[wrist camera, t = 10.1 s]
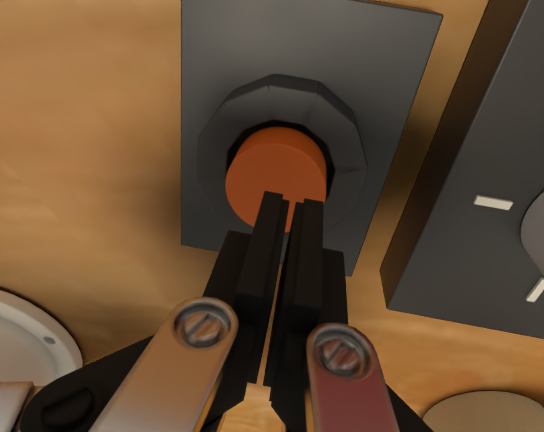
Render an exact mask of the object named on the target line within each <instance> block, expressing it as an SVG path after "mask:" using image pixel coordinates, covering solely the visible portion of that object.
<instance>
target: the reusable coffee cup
mask: <svg viewBox="0 0 544 432" xmlns="http://www.w3.org/2000/svg"><path fill="white" fill-rule="evenodd" d="M423 421H424V422H425V423H426V424H427V425H428V426H429V427H430V428H431V429H432V430H433V431H434V432H544V407H543V406H541V405H540V404H539V403H538V402H536V401H534V400H532V399H530V398H528V397H525V396H522V395H519V394H514V393H509V392H500V391H478V392H470V393H464V394H460V395H456V396H453V397H450V398H448V399H445V400H443V401H441V402H439V403H437V404H436V405H434V406H433V407H432V408H430V409H429V410H428V411H427V413H426V414H425V415H424V417H423Z"/></svg>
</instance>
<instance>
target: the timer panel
mask: <svg viewBox="0 0 544 432" xmlns="http://www.w3.org/2000/svg"><path fill="white" fill-rule="evenodd" d="M543 192H544V0H490V1H489V3H488V6H487V8H486V11H485V13H484V16H483V18H482V21H481V23H480V26H479V28H478V30H477V33H476V35H475V38H474V40H473V43H472V45H471V48H470V50H469V53H468V55H467V57H466V60H465V62H464V65H463V67H462V70H461V72H460V75H459V77H458V80H457V82H456V84H455V87H454V89H453V92H452V94H451V97H450V99H449V102H448V104H447V107H446V109H445V111H444V114H443V116H442V119H441V121H440V124H439V126H438V129H437V131H436V134H435V136H434V138H433V141H432V143H431V146H430V148H429V151H428V153H427V156H426V158H425V161H424V163H423V165H422V168H421V170H420V173H419V175H418V178H417V180H416V183H415V185H414V188H413V190H412V192H411V195H410V197H409V200H408V202H407V205H406V207H405V210H404V212H403V214H402V217H401V219H400V222H399V224H398V227H397V229H396V232H395V234H394V237H393V239H392V241H391V244H390V246H389V249H388V251H387V254H386V256H385V259H384V261H383V264H382V266H381V268H380V275H381V281H382V286H383V291H384V297H385V302H386V308H387V309H389V310H394V311H399V312H405V313H410V314H415V315H420V316H426V317H431V318H436V319H441V320H447V321H452V322H457V323H462V324H467V325H473V326H478V327H483V328H488V329H494V330H499V331H504V332H509V333H515V334H520V335H525V336H530V337H536V338H541V339H544V275H543V274H542V272H541V271H540V270H539V268H538V267H537V265H536V264H535V263H534V261H533V260H532V259H531V257H530V256H529V255H528V253H527V252H526V250H525V249H524V247H523V244H522V241H521V225H522V221H523V219H524V216H525V214H526V212H527V210H528V209H529V207H530V206H531V204H532V203H533V202H534V201H535V200H536V198H537V197H538V196H539V195H540V194H541V193H543Z"/></svg>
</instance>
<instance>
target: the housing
mask: <svg viewBox="0 0 544 432" xmlns="http://www.w3.org/2000/svg"><path fill="white" fill-rule="evenodd" d="M442 19H443V14H440V13H437V12H433V11H430V10H426V9H420V8H414V7H408V6H402V5H396V4H391V3H385V2H379V1H373V0H181V245H185V246H190V247H196V248H201V249H206V250H212V251H217V252H220V250H221V247H222V245H223V242H224V240H225V237H226V235H227V232H228V231H229V230H232V231H238V232H243V233H248V234H252V232H253V229H254V227H253V226H251V225H249V224H248V223H246V222H245V221H244V220H242V219H241V218H240V217H239V216H238V215H237V214H236V212H235V211H234V210H233V208H232V207H231V205H230V203H229V201H228V198H227V194H226V188H225V181H226V176H227V172H228V170H229V168H230V166H231V164H232V162H233V160H234V158H235V156H236V154H237V152H238V150H239V148H240V146H241V145H242V143H243V142H244V141H245V140H246V139H247V138H248V137H249V136H250V135H252V134H253V133H255V132H257V131H259V130H261V129H264V128H268V127H276V126H281V127H289V128H293V129H296V130H298V131H300V132H302V133H304V134H306V135H307V136H309V137H310V138H311V139H312V140H313V141H314V142H315V143H316V144H317V145H318V147H319V148H320V150H321V151H322V154H323V156H324V159H325V163H326V198H325V202H324V211H323V248H326V249H331V250H337V251H342V252H343V253H344V263H345V276H349V277H351V276H352V274H353V271H354V268H355V265H356V262H357V259H358V257H359V254H360V251H361V248H362V245H363V242H364V240H365V237H366V234H367V231H368V228H369V226H370V223H371V220H372V217H373V214H374V211H375V209H376V206H377V203H378V200H379V197H380V194H381V192H382V189H383V186H384V183H385V180H386V178H387V175H388V172H389V169H390V166H391V163H392V161H393V158H394V155H395V152H396V149H397V146H398V144H399V141H400V138H401V135H402V132H403V130H404V127H405V124H406V121H407V118H408V115H409V113H410V110H411V107H412V104H413V101H414V98H415V96H416V93H417V90H418V87H419V84H420V82H421V79H422V76H423V73H424V70H425V67H426V65H427V62H428V59H429V56H430V53H431V50H432V48H433V45H434V42H435V39H436V36H437V34H438V31H439V28H440V25H441V22H442ZM288 237H289V232H285V234H284V240H283V246H282V252H281V258H280V264H283V260H284V256H285V251H286V246H287V241H288Z"/></svg>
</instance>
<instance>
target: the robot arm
mask: <svg viewBox="0 0 544 432" xmlns="http://www.w3.org/2000/svg"><path fill="white" fill-rule="evenodd" d="M289 204H290V200H285V199H283V194H280V193H275V192H270V191H264V195H263V198H262V201H261V205H260V208H259V212H258V215H257V218H256V222H255V225H254V229H253V232H252V234H248V233H243V232H238V231H232V230H229V231H228V232H227V235H226V237H225V240H224V242H223V245H222V247H221V250H220V253H219V255H218V258H217V260H216V263H215V265H214V268H213V270H212V273H211V276H210V278H209V281H208V283H207V286H206V288H205V291H204V293H203V296H202V297H195V298H191V299H188V300H185V301H183V302H182V303H180V304H178V305H177V306H176V307H175V308H174V309H173V310H172V311H171V312H170V314H169V315H168V316H167V318H166V319H165V321H164V322H163V324H162V325H161V327H160V328H159V330H158V331H157V332H156V334H155V335H152V336H150V337H148V338H146V339H144V340H141V341H139V342H137V343H135V344H132V345H130V346H128V347H126V348H124V349H121V350H119V351H117V352H115V353H113V354H110V355H108V356H106V357H104V358H101V359H99V360H97V361H95V362H93V363H90V364H88V365H86V366H84V367H82V365H83V360H82V356H81V352H80V350H79V348H78V346H77V344H76V342H75V341H74V339H73V338H72V337H71V335H70V334H69V333H68V332H67V330H66V329H65V328H63V327H62V326H61V325H60V324H59V323H58V322H57V321H56V320H55V319H54V318H52V317H51V316H50V315H48V314H47V313H46V312H44V311H43V310H41V309H40V308H38V307H36V306H35V305H33V304H31V303H30V302H28V301H26V300H24V299H22V298H19V297H17V296H15V295H13V294H10V293H8V292H5V291H2V290H0V432H220V430H221V427H222V425H223V422H224V419H225V416H226V411H228V410H229V409H231V408H232V407H234V406H235V405H237V404H238V403H240V402H241V401H243V400H244V396H245V392H246V387H247V382H249V383H253V384H256V382H257V377H258V372H259V367H260V362H261V358H262V353H263V348H264V343H265V338H266V333H267V329H268V324H269V319H270V314H271V309H272V304H273V299H274V294H275V288H276V282H277V276H278V270H279V264H280V258H281V252H282V246H283V240H284V234H285V228H286V222H287V216H288V210H289ZM323 211H324V202H323V201H317V200H312V199H307V198H304V201H303V203H301V202H296V204H295V208H294V213H293V218H292V222H291V227H290V232H289V237H288V241H287V246H286V251H285V256H284V260H283V265H282V270H281V275H280V280H279V286H278V293H277V299H276V305H275V312H274V318H273V324H272V331H271V337H270V343H269V350H268V356H267V362H266V369H265V375H264V382H263V386H268V387H271V391H270V399H269V401H272V402H271V406H272V408H273V409H274V411H275V412H276V413H277V415H278V416H279V417H280V419H281V420H282V426H281V432H434V431H433V430H432V429H431V428H430V427H429V426H428V425H427V424H426V423H425V422H424V421H423V420H422V419H421V418H420V417H419V416H418V415H417V414H416V413H415V412H414V411H413V410H412V409H411V408H410V407H409V406H408V405H407V404H406V403H405V402H404V401H403V400H402V399H401V398H400V397H399V396H398V395H397V394H396V393H395V392H394V391H393V390H392V389H391V388H390V387H389V386H388V385H387V384H386V383H385V380H384V376H383V373H382V370H381V366H380V363H379V359H378V356H377V353H376V351H375V349H374V346H373V344H372V343H371V342H370V341H369V339H368V338H367V337H366V336H365V335H364V334H363V333H361V332H360V331H359V330H357V329H356V328H354V327H351V326H349V325H348V313H347V296H346V280H345V263H344V253H343V252H342V251H337V250H331V249H326V248H323Z"/></svg>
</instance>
